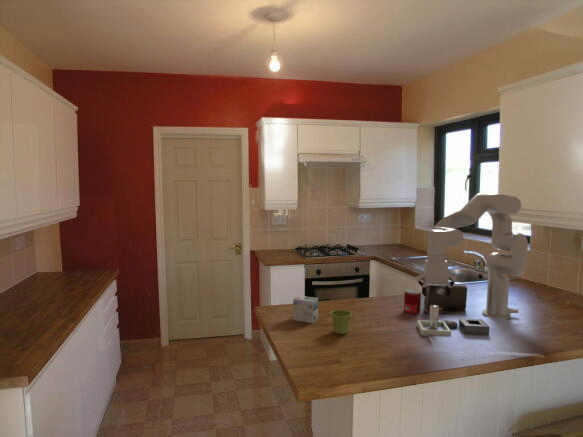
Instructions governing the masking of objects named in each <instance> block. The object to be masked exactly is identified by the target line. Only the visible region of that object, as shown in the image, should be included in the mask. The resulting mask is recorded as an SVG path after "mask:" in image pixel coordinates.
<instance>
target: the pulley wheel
mask: <svg viewBox="0 0 583 437" xmlns="http://www.w3.org/2000/svg"><path fill="white" fill-rule="evenodd" d="M443 321H444V322H445V323H446V325H447V326H448V327H449V329H450V330H455V329H457V328H458V327H459V323H458V322H456V321H453V320H446V319H445V320H443ZM440 327H442V328H443V323H441V326H440Z"/></svg>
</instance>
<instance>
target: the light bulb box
mask: <svg viewBox="0 0 583 437" xmlns="http://www.w3.org/2000/svg"><path fill="white" fill-rule="evenodd" d="M292 299H293V300H292V303H293V304H292V314H293V315H292V316H293V317H292V320H293V321H297V322H303V323H308V324H314V323H316V322H317V320H319V297H313V296H311V297H310V296H304V295H297V296H296V297H294V298H292Z"/></svg>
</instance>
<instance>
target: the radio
mask: <svg viewBox="0 0 583 437" xmlns="http://www.w3.org/2000/svg"><path fill="white" fill-rule="evenodd" d="M425 287H426V296H424V298H423V299H424V300H423V308H422V310H423V311H425V312H426V313H427V314H428V315H430V305H437V306H439V313H438V315H442V314H444V315H445V314H447V315H448V314H456V315H457V314H460V313H467V310H466V309H467V300H468V299H467V298H468V287H467V285H466V284H454V285H452V286H451V288H450V294H449V297H447V296H446V294H445V292H446V284H427V285H426V286H425Z"/></svg>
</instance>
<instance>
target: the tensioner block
mask: <svg viewBox="0 0 583 437" xmlns="http://www.w3.org/2000/svg"><path fill="white" fill-rule="evenodd" d="M458 329H459V330H460V331H461V333H462V334H464V336H467V335H468V336H488V337H489V336H490V326H489V325H488V324H487V322H485V320H484V319H482V318H460V317H459V318H458Z"/></svg>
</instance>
